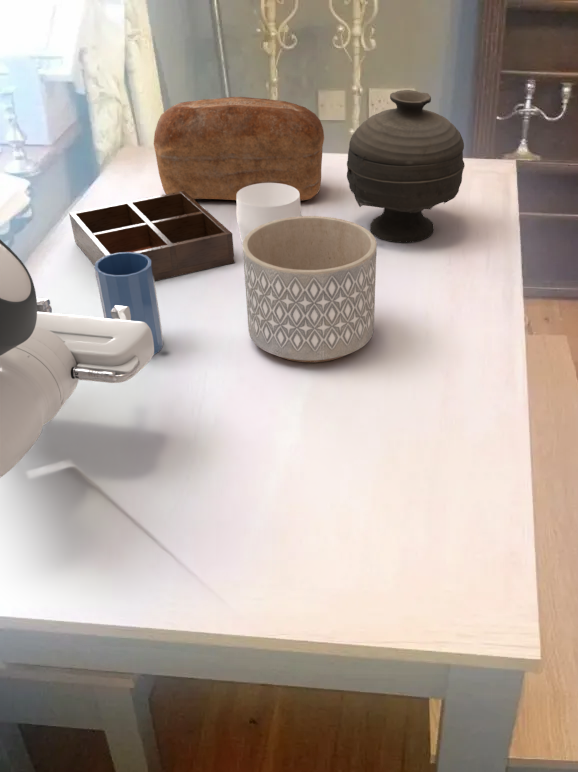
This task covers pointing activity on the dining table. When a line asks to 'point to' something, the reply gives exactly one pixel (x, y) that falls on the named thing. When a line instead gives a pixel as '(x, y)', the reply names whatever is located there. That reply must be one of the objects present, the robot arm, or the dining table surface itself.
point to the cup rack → (156, 234)
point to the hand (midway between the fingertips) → (84, 308)
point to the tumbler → (130, 289)
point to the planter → (310, 287)
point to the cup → (265, 205)
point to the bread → (238, 147)
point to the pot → (405, 166)
